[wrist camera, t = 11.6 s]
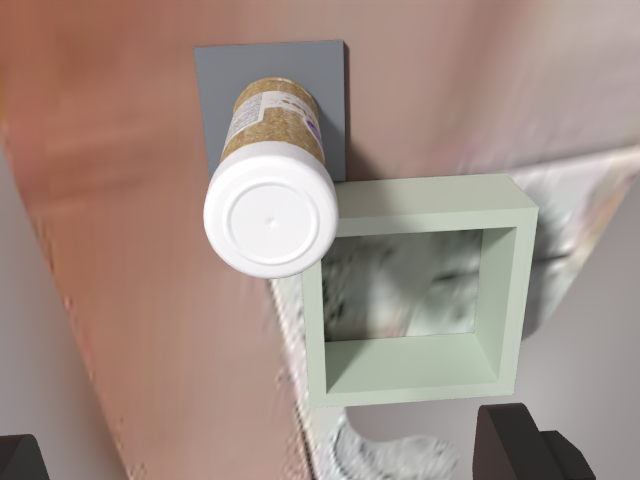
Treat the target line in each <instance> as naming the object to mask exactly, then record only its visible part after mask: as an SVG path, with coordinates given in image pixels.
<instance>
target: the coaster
mask: <svg viewBox="0 0 640 480" xmlns="http://www.w3.org/2000/svg"><path fill="white" fill-rule="evenodd" d="M194 56H195V64H196V72H197V80H198V88H199V96H200V104H201V112H202V120H203V128H204V136H205V144H206V152H207V160H208V168H209V176H210V182H211V179H212V177H213V175H214V173H215V171H216V169H217V168H218V166H219V165H220V160H221V156H222V152H223V149H224V145H225V141H226V138H227V134H228V131H229V128H230V124H231V121H232V118H233V110H234V106H235V103H236V101H237V99H238V97H239V96H240V94H241V93H242V91H244V90H245V89H246V88H247V87H248V86H249V85H250V84H251V83H253V82H256V81H258V80H260V79H263V78H268V77H283V78H288V79H290V80H292V81H294V82H296V83H298V84H300V85H301V86H303V87H304V88H305V89H306V90H307V91H308V92H309V93H310V95H311V96H312V98H313V100H314V102H315V104H316V106H317V111H318V117H319V123H318V124H319V128H320V134H321V141H322V147H323V153H324V158H325V165H324V166H325V169H326V170H327V172H328V174H329V175H330V177H331V180H332V182H334V181H346V166H345V112H344V59H343V40H325V41H303V42H282V43H261V44H239V45H218V46H197V47H194Z"/></svg>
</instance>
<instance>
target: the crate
mask: <svg viewBox="0 0 640 480" xmlns="http://www.w3.org/2000/svg"><path fill="white" fill-rule="evenodd" d="M333 185H334V188H335V192H336V197H337V203H338V213H339V220H338V228H337V232H336V236H335V237H348V236H365V235H382V234H399V233H416V232H434V231H451V230H468V229H483V238H482V248H481V259H480V270H479V281H478V291H477V302H476V313H475V324H474V333H460V334H444V335H429V336H413V337H398V338H382V339H367V340H351V341H336V342H324V323H323V299H322V274H321V259H320V260H319V261H318V262H317V263H316V264H314V265H313V266H312V267H310V268H309V269H307V270H305V271H303V272H302V286H303V303H304V321H305V338H306V356H307V372H308V388H309V404H310V409H315V408H329V407H344V406H358V405H373V404H386V403H387V404H388V403H401V402H417V401H430V400H445V399H460V398H475V397H489V396H503V395H513V394H514V387H515V380H516V373H517V365H518V357H519V350H520V343H521V336H522V329H523V321H524V314H525V306H526V299H527V292H528V284H529V277H530V270H531V262H532V255H533V248H534V240H535V233H536V226H537V218H538V211H539V207H538V206H537V205H536V204H535V203H534V202H533V201H532V200H531V199H530V198H529V197H528V196H527V194H526V193H525V192H524V191H523V190H522V189H521V188H520V187H519V186H518V185H517V184H516V183H515V182H514V181H513V180H512V179H511V178H510V177H509V176H508V175H507V174H506V173H497V174H479V175H460V176H442V177H424V178H406V179H388V180H370V181H352V182H334V183H333Z"/></svg>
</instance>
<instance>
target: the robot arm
mask: <svg viewBox="0 0 640 480" xmlns="http://www.w3.org/2000/svg"><path fill="white" fill-rule="evenodd" d="M472 468H473V480H596V477H595V475H594V474H593V472H592V470H591V468H590V467H589V465H588V463H587V462H586V460H585V458H584V457H583V455H582V453H581V452H580V451H579V450H578V449H577V448H576V447H575V446H574V445H573V444H571V443H570V442H569V441H568V440H567V439H565V437H563V436H562V435H561V434H560V433H559V432H558V431H556V430H555V431H541V432H539V430H538V428H537V426H536V424H535V422H534V420H533V419H532V417H531V415H530V413H529V411H528V409H527V407H526V406H525V405H524V404H523V403H509V404H495V405H481V406H480V408H479V411H478V417H477V427H476V437H475V446H474V456H473V467H472ZM0 480H50V479H49V476H48V473H47V470H46V467H45V464H44V461H43V458H42V455H41V452H40V449H39V446H38V443H37V440H36V438H35V437H34V436H33V435H31V434H23V435H8V436H0Z"/></svg>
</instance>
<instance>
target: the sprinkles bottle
mask: <svg viewBox="0 0 640 480" xmlns="http://www.w3.org/2000/svg"><path fill="white" fill-rule="evenodd" d="M318 123H319V117H318V111H317V106H316V104H315V102H314V100H313V98H312V96H311V95H310V93H309V92H308V91H307V90H306V89H305V88H304V87H303V86H301V85H300V84H298V83H296V82H294V81H292V80H290V79H288V78H283V77H268V78H263V79H260V80H258V81H256V82H253V83H251V84H250V85H249V86H248V87H247V88H246V89H245V90H244V91H242V93H241V94H240V96H239V97H238V99H237V101H236V103H235V106H234V110H233V118H232V121H231V124H230V128H229V131H228V134H227V138H226V141H225V145H224V149H223V152H222V156H221V160H220V165H219V166H218V168H217V169H216V171H215V173H214V175H213V177H212V179H211V182H210V185H209V189H208V192H207V196H206V201H205V205H204V226H205V230H206V234H207V237H208V239H209V241H210V243H211V245H212V247H213V248H214V250H215V251H216V253H217V254H218V255H219V256H220V257H221V258H222V259H223V260H224V261H225V262H226V263H227V264H229V265H230V266H232V267H233V268H235V269H236V270H238V271H240V272H242V273H245V274H247V275H250V276H253V277H258V278H266V279H277V278H285V277H289V276H293V275H296V274H299V273H301V272H303V271H305V270H307V269H309V268H310V267H312V266H313V265H314V264H316V263H317V262H318V261H319V260H320V259H321V258H322V257H323V256H324V255H325V254H326V252H327V251H328V250H329V248H330V246H331V245H332V243H333V241H334V238H335V236H336V232H337V228H338V220H339V213H338V203H337V197H336V192H335V188H334V185H333V182H332V180H331V177H330V175H329V174H328V172H327V170H326V169H325V166H324V165H325V158H324V153H323V147H322V141H321V134H320V128H319V124H318Z"/></svg>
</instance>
